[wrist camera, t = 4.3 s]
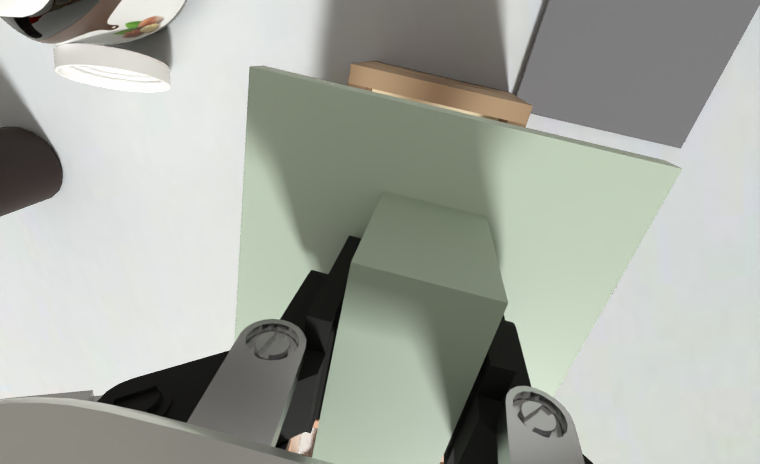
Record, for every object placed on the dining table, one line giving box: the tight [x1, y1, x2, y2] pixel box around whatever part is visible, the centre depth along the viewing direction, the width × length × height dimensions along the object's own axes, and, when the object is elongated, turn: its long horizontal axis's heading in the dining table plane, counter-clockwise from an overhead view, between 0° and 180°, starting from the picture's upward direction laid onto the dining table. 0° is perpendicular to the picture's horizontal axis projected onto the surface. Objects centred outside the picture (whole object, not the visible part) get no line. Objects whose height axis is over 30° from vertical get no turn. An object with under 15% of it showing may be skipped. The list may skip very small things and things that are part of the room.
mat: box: [515, 0, 760, 148], centre depth 25 cm, size 12×12×1 cm
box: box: [347, 61, 533, 127], centre depth 27 cm, size 10×10×8 cm
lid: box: [235, 66, 682, 464], centre depth 11 cm, size 11×11×6 cm
